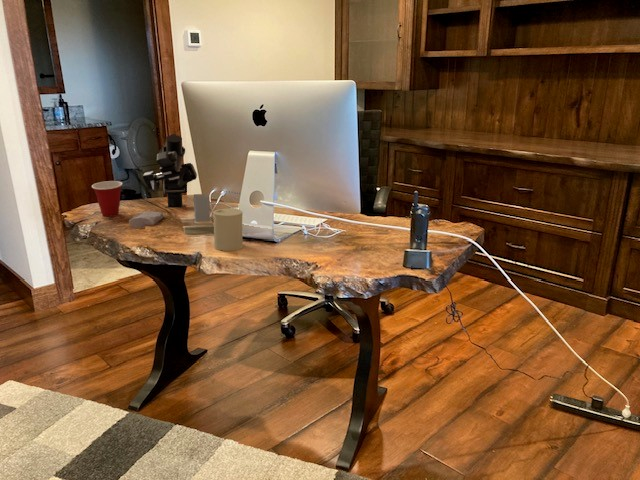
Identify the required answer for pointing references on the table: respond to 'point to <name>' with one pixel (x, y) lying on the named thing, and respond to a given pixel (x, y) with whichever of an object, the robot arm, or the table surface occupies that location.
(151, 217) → the stone block
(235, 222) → the can
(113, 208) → the plastic cup
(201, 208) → the slate block
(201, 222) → the trap board
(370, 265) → the table surface
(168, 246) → the table surface
